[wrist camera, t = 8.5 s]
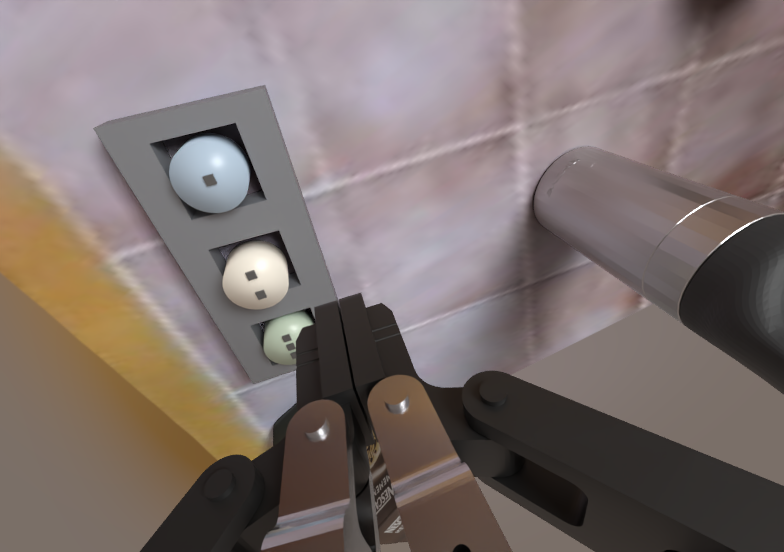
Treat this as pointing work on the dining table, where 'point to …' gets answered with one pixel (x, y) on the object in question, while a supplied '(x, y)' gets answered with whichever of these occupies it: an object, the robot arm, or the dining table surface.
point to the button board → (211, 230)
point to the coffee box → (384, 499)
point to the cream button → (256, 275)
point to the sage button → (284, 336)
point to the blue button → (210, 173)
